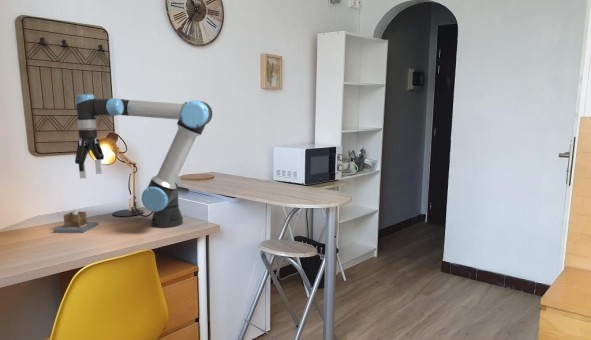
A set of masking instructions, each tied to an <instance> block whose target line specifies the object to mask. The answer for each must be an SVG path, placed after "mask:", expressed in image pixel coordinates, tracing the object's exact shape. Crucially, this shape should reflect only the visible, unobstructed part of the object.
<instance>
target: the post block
mask: <svg viewBox="0 0 591 340" xmlns="http://www.w3.org/2000/svg"><path fill="white" fill-rule="evenodd" d="M71 212H72V214H78V212H79V210H74V211H71ZM96 226H99V222H98V221H87V224H85V225H83V226H81V227H79V228H65V225H64V224H63V225H61V226H59V227H57V228H54V229H53V233H55V234H84V233H85V232H87V231H89V230H91V229H93V228H95V227H96Z"/></svg>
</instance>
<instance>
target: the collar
mask: <svg viewBox="0 0 591 340" xmlns="http://www.w3.org/2000/svg"><path fill="white" fill-rule="evenodd" d="M72 212H73V211H71V212H68V213H65V214H63V219H64V221H63V223H64V224H63V225H65V228H79V227H81V226H83V225H85V224H87V222H88V221H87V220H88V218H87V211H78V214H72Z"/></svg>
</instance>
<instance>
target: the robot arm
mask: <svg viewBox="0 0 591 340" xmlns="http://www.w3.org/2000/svg"><path fill="white" fill-rule="evenodd" d="M75 108H76V116H77V117H76V118H77V119H76V120H77V127H78V129H79V130H78V131H77V132H78V138H79V139H81V140H77V148H76V154H75V159H74V163H75V165H78V172H79V179H87V178H88V175H87V163H85V162H86V159H87V155H88V153H89V152H90V151H91V153H92V155H93V157H94V158H95V159H94V163H95V174H96V175H97V174H99V175H100V174H103V164H102V160H104V158H105V154H104V151H103V150H102V146H101V144H100V139H99V138H98V130H97V127H98V126H97V119H96V117H100V116H101V117H102V116H108V117H109V116H113V117H114V116H125V117H127V116H129V117H138V118H139V117H141V118H142V117H143V118H151V119H152V118H153V119H166V120H176V121H177V122H176V126H177V128H178V129H177V131H176V133H175V135H174V138H173V139H172V141H171V144H170V146H169V149H168V150H167V152H166V155H165V157H164V159H163V161H162V163H161V165H160V167H159V171H158V173H156V175H154V176H152V177H151V179H150V181H149V184H148V186H147V187H146V188H145V189H144V190H143V191H142V194H141V202H142V204H143V207H144V208H145V209H147V210H149V211H151V212H152V217H151V222H150V224H151V226H152V227H154V228H160V229H161V228H172V227H176V226H177V227H178V226H180V225H182V224H184V218H183V215H182V212H181V210H180V207H179V188H178V186H179V184H178V180H177V179H178V177H179V175H180V172H181V170H182V168H183V166H184V164H185V162H186V160H187V157H188V155H189V153H190V151H191V149H192V147H193V144H194V142H195V140H196V138H197V137H199V136H202V134H203V132H204V129H205V128H206V125H207V124H209V123H210V122H211V120H212V118H213V110H212V107H211V106H210V104H208V102H205V101H202V100H197V99H196V100H195V99H194V100H189V101H188V102H187V101H185V102H183V103H174V102H173V103H172V102H160V101H149V100H148V101H147V100H137V99H135V100H133V99H124V98H113V97H112V98H95V95H94V94H91V93H90V94H87V93H85V94H77V95H76V96H75Z"/></svg>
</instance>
